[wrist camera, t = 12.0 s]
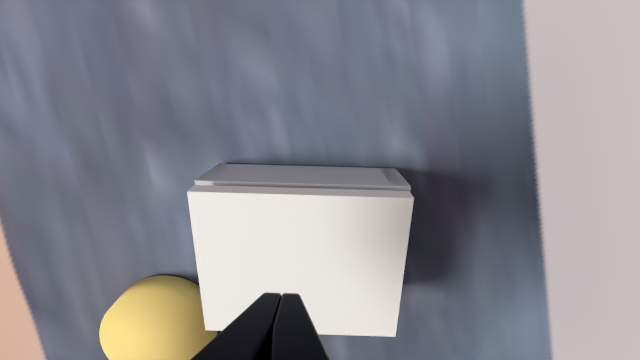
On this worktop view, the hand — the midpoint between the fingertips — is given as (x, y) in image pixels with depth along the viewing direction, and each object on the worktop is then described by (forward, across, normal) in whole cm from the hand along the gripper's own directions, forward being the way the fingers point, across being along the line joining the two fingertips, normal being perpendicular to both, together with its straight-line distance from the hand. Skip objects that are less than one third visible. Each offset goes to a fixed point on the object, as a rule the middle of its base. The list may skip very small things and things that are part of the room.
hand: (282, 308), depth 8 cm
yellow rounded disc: (+10, +8, +8) cm, 15 cm away
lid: (+6, 0, +2) cm, 6 cm away
